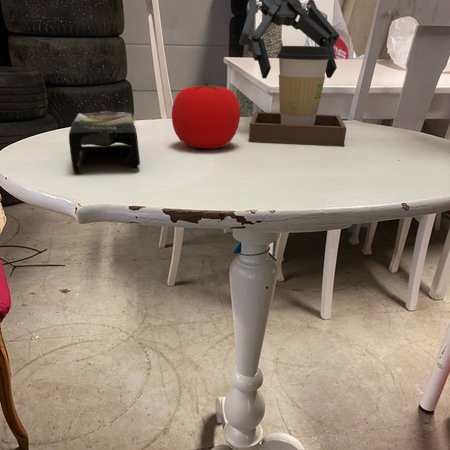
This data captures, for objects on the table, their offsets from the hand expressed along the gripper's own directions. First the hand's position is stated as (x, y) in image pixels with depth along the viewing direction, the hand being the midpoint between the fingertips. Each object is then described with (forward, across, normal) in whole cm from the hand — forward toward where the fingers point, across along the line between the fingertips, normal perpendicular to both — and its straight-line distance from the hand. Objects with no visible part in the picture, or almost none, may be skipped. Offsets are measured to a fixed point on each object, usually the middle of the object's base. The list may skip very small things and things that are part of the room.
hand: (300, 73), depth 88 cm
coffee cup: (+8, 0, -7) cm, 11 cm away
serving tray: (+8, 0, -8) cm, 11 cm away
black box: (+16, +38, -1) cm, 41 cm away
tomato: (+12, +20, -4) cm, 24 cm away
